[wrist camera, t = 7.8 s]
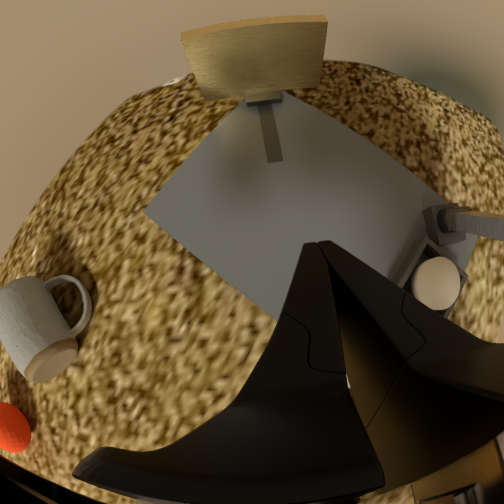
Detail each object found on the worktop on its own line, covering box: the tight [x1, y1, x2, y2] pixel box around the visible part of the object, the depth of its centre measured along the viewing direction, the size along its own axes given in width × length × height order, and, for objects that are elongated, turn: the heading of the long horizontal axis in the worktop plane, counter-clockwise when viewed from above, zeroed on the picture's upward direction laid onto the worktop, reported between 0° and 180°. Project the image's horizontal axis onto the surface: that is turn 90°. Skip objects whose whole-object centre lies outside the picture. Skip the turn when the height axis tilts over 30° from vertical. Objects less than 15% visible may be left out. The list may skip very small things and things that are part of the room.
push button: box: [410, 257, 460, 310], centre depth 16 cm, size 4×4×2 cm
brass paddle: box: [181, 15, 328, 107], centre depth 18 cm, size 3×10×8 cm, turn 97°
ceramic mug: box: [0, 275, 92, 383], centre depth 19 cm, size 11×8×8 cm
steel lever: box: [437, 206, 504, 241], centre depth 13 cm, size 2×3×9 cm
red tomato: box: [0, 402, 31, 453], centre depth 18 cm, size 8×7×7 cm
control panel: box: [143, 90, 478, 321], centre depth 20 cm, size 16×24×4 cm
